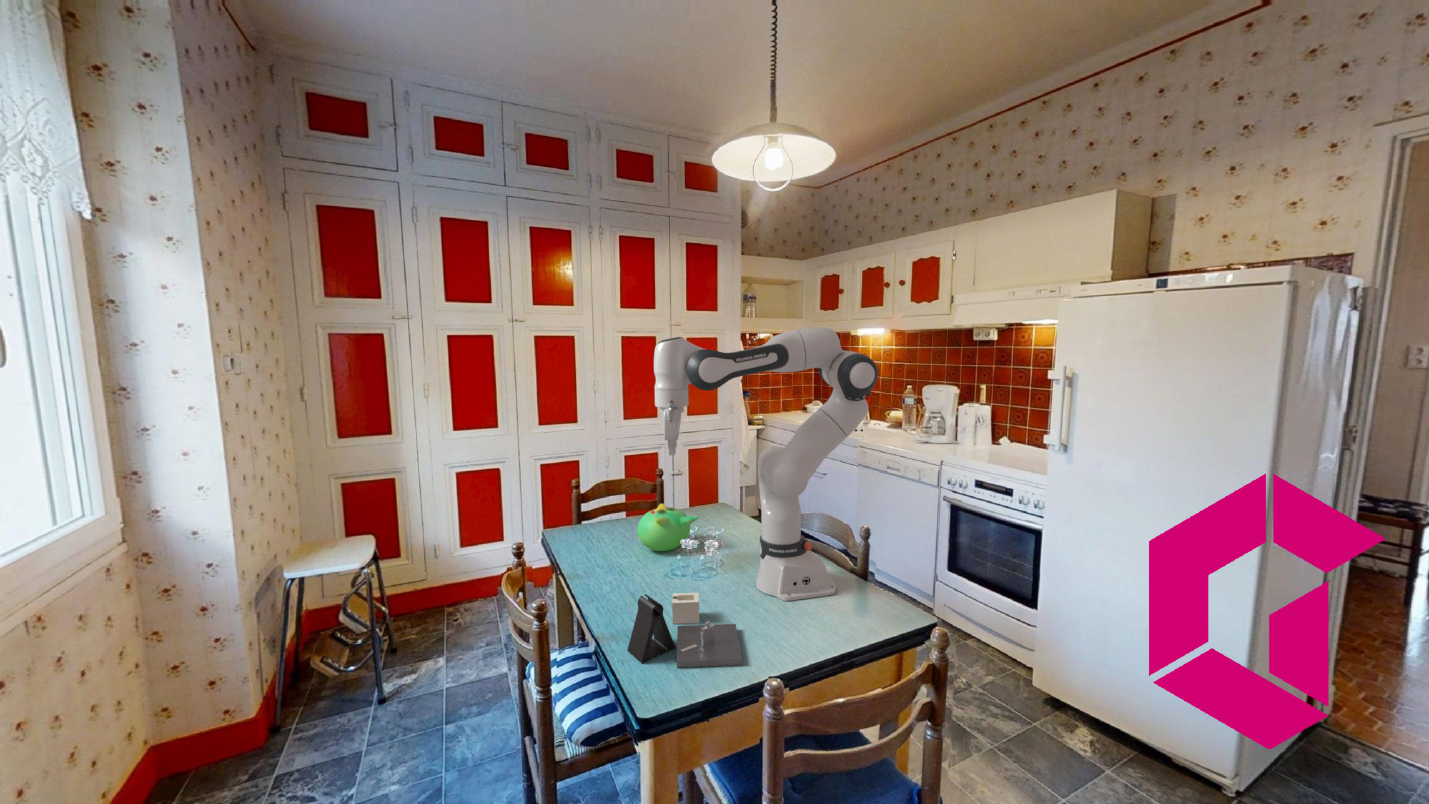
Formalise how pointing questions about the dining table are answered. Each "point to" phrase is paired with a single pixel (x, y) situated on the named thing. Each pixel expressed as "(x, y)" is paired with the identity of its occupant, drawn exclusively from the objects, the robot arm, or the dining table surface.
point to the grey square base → (708, 646)
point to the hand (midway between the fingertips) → (672, 451)
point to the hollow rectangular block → (685, 608)
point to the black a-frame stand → (649, 631)
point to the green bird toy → (664, 528)
